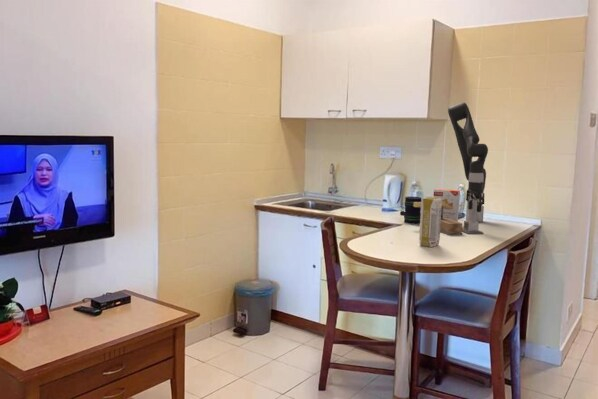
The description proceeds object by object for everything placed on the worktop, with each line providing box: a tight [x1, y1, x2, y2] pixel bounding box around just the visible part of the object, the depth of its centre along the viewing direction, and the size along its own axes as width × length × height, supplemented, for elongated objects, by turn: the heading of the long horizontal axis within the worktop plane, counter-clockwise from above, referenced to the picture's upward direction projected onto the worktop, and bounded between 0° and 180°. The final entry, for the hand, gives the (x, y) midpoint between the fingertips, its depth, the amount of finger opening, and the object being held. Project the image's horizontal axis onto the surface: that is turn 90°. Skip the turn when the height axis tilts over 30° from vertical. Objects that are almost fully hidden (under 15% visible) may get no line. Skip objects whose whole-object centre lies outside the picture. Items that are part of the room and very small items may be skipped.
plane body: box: [440, 217, 464, 236], centre depth 287 cm, size 9×21×6 cm, turn 11°
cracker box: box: [432, 188, 461, 222], centre depth 304 cm, size 14×6×21 cm, turn 62°
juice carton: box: [418, 195, 442, 248], centre depth 249 cm, size 9×8×24 cm
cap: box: [463, 220, 480, 232], centre depth 285 cm, size 6×5×5 cm
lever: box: [413, 202, 445, 218], centre depth 291 cm, size 18×4×9 cm, turn 99°
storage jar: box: [403, 196, 423, 225], centre depth 311 cm, size 10×10×15 cm
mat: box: [462, 228, 485, 235], centre depth 285 cm, size 9×10×1 cm
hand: (474, 210), depth 283 cm, fingers open, 8 cm apart
